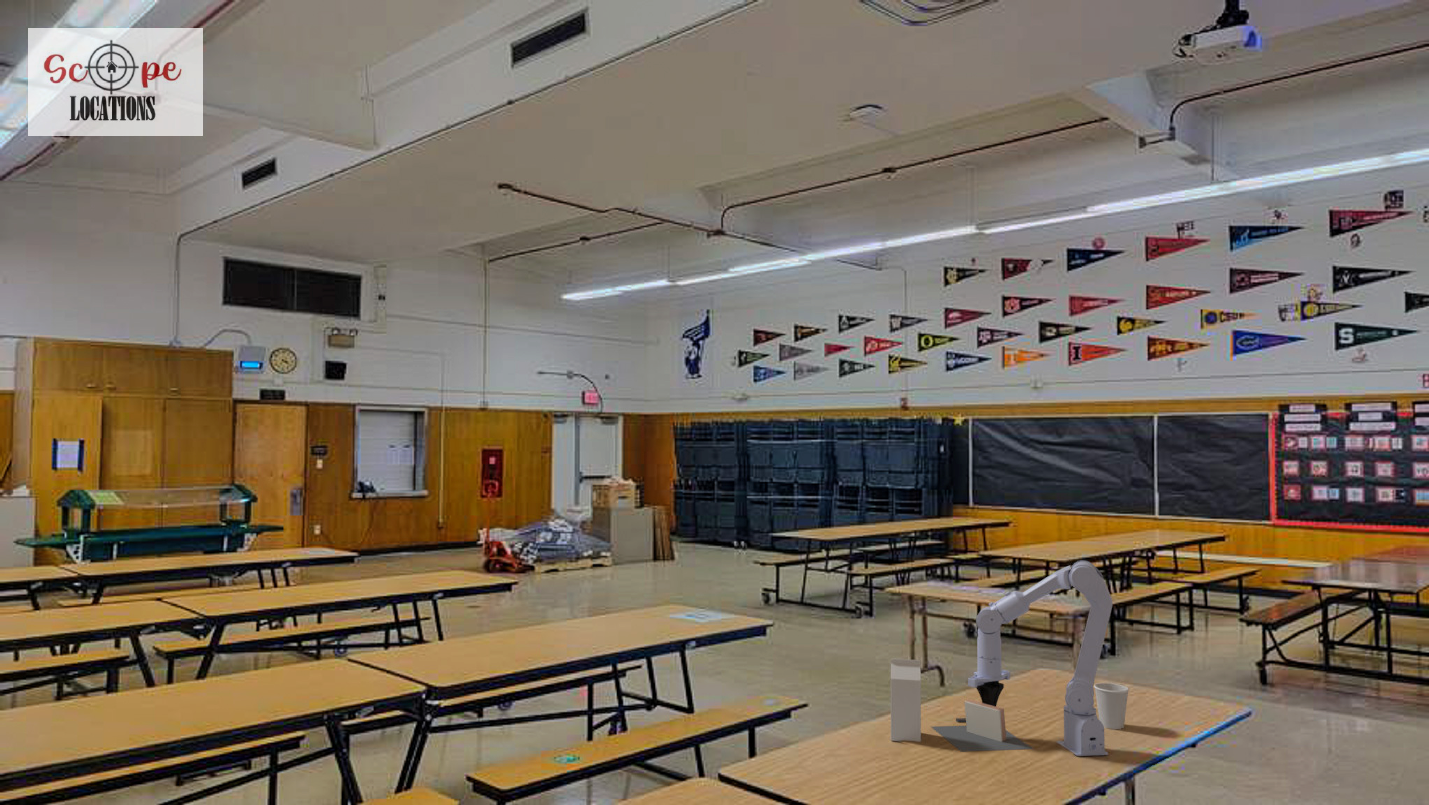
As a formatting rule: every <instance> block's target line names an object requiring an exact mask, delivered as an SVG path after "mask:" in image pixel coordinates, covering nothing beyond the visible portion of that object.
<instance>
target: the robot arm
mask: <svg viewBox="0 0 1429 805" xmlns="http://www.w3.org/2000/svg"><path fill="white" fill-rule="evenodd" d="M1072 587H1073V588H1074V589H1076V591H1078V592H1079V593H1081V594H1082V595H1083V596H1084V597H1085V599H1086V600H1087V602H1088V603H1089V605H1090V609H1089V612H1088V615H1087V616H1088V618H1087V621H1086V625H1085V628H1084V634H1083V638H1082V641H1081V644H1080V645H1081V646H1080V650H1079V653H1078V657H1077V662H1076V666H1075V669H1074V672H1073V676H1072V678H1071V679H1070V680H1069V682H1068V683H1067V684H1066V686H1065V687H1066V689H1065V692H1066V693H1065V695H1064V701H1065V705H1064V706H1063V740H1058V741H1056V743H1057V744H1058V745H1060V746H1062V747H1063V748H1064V749H1067V750H1068V751H1069V752H1071V753H1073V755H1075V756H1077V757H1087V756H1089V757H1091V756H1108V755H1109V752H1107V751H1106V750H1105V749H1106V748H1105V747H1106V745H1105V728H1104V726H1103V724H1102V722H1101V721H1100V720H1099V717H1098V715H1097V708H1096V707H1094V704H1095V700H1094V696H1095V688H1094V685H1095V679H1096V674H1097V670H1098V666H1099V661H1100V658H1101V654H1102V650H1103V647H1104V646H1103V645H1104V641H1105V638H1106V635H1107V634H1106V632H1107V629H1108V625H1109V622H1110V617H1111V613H1112V608H1113V599H1112V598H1113V597H1112V596H1111V594H1110V593H1111V592H1110V591H1109V589H1108V587H1107V584H1106V582H1105V579H1104V576H1103V574H1102V573H1101V571H1100V570H1099V569H1098V568H1097V567H1096V566H1095V565H1094V564H1093V563H1092V562H1090V561H1088V560H1077V561H1076V562H1074V563H1073V564H1072V565H1068V566H1065V567H1062V568H1061V569H1058V570H1056V571H1054V572H1052V573H1051V574H1050V575H1048V576H1047V577H1044V578H1043V579H1042V580H1040V581H1039V582H1037V583H1035V584H1034V585H1033V586H1031V587H1029V588H1028V589H1026V590H1025V591H1018V590H1014V591H1012V592H1011V591H1010V590H1009V591H1006V593H1004V595H1005V596H1003V597H1002V598H1000V599H998V600H996V601H995V602H993V601H991V602H989V603H988V606H986V607H983V608H982V609H981V610H980V611H979V612H978V614H977V616H976V619H975V622H976V623H975V624H976V626H977V628H978V629H977V641H976V644H977V648H976V650H977V652H976V653H977V654H976V655H977V660H976V661H977V662H976V663H977V664H976V665H977V668H976V669H977V671H974V672H973V675H972V676H971V677H968V678H967V687H971V688H973V689H974V688H976V690H977V692H978V694H979V697H980V700H981V703H984V704H988V705H992V706H995V707H997V705H998V700H999V698H1000V696H1001V693H1002V691H1003V690H1004V688H1005V684H1004V683H1003V682H1002V683H1001V682H1000V681H1004V680H1007V681H1008V680H1011V671H1009V670H1004V669H1003V670H1002V638H1001V626H1002V624H1003V625H1007V624H1009V623H1010V622H1012V621H1014V620H1016V619H1018V618H1019V617H1021V616H1023V615H1024V614H1026V613H1028V612H1029V611H1030V605H1031V604H1033V603H1035V602H1036V601H1038V600H1039V599H1042V598H1043V597H1045V596H1047V595H1048V594H1051V593H1052V592H1055V591H1056V590H1059V589H1061V590H1071V588H1072Z"/></svg>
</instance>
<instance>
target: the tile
mask: <svg viewBox="0 0 1429 805" xmlns="http://www.w3.org/2000/svg"><path fill="white" fill-rule="evenodd" d="M964 711H965V718H966V722H965V723H966V725H965V726H966V727H967V732H970V733H974V734H977V735H980V736H984V737H987V738H990V739H994V740H997V741H1000V742H1002V741H1004V740H1006V730H1007V729H1006V719H1005V709H1004V708H1002V707H999V706H998V707H997V706H996V707H995V706H992V705H988V704H984V703H982V702H980V701H976V700H973V699H968V700H965V701H964Z"/></svg>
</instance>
